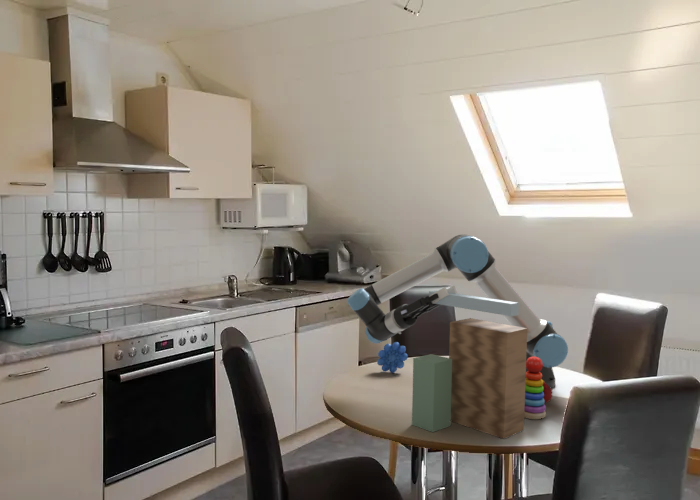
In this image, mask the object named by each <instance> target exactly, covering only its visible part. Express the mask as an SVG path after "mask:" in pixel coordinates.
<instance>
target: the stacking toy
mask: <svg viewBox="0 0 700 500" xmlns="http://www.w3.org/2000/svg"><path fill="white" fill-rule="evenodd" d="M542 367H543V363H542V361H541V359H540V358H538V357H530V358H528V359H527V361H526V368H527V370H528V371H527V372H526V380H525V408H524V419H528V418H529V419H528V420H541V418H542V419H544V418H546V416H547V412H546V410H547V406H546V405H545V404H546V403H545V400H544V398H543V397H544V393H543V390H544V388H543V386H542V385H543V380H542V379H541V378H542V373H540V371H541V369H542ZM544 403H545V404H544Z"/></svg>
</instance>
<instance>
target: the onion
mask: <svg viewBox="0 0 700 500" xmlns="http://www.w3.org/2000/svg"><path fill="white" fill-rule="evenodd" d="M542 386H543V388H544V390H543V393H544V397H543V398H544V400H545V403H544V404H547V403H549V402H550V401H551V400H552V398H553V390H552V388H550V386H549V385H547V384H546V383H545V382H544V381H543V385H542Z"/></svg>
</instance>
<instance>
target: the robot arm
mask: <svg viewBox="0 0 700 500" xmlns="http://www.w3.org/2000/svg"><path fill="white" fill-rule="evenodd" d="M455 269H458V271H459V272H460V273H461V274H462V276H463V277H464V278H465V279H466V280H467V282H469V283H470V282H471V283H475V284H476V286H478V287H479V289H480V290H481V291H482V292H483V293H484V294H485V296H486V298H490V299H497V300H504V301H511V302H517V303H519V308H518V315H515V316H506V315H502V316H503V318H504V319H505V320H506V321H507V322H508V323H509V325H511V326H517V327H523V328H527V353H526V361H527V359H528V358H530V357H538V358H540V359H541V361H542V363H543V367H542V369H541V371H540V373H542V378H541V379H542V380H543V381H544V382H545V383H546V384H547V385H549V386H550V387H552V388H553V386H554V387H555V386H556V377H555V373H554V370H553V368H556V367H558V366H559V365H561V364H562V363H564V361H565V360H566V359H567V356H568V353H569V345H568V343H567V341H566V340H565V338H564V337H563V336H561V335H560V334H558V332H556V330H555V329H554V326H553V322H552V321H549V320H546V319H543V318H539V317H538V316H537V315H536V313H535V312H534V311H533V310H532V308H530V306H529V305H528V304H527V303H526V302H525V300H524V299H523V298H522V297H521V295H520V294H519V293H518V292H517V291H516V290H515V288H514V287H513V286H512V284H511V283H510V282H509V281H508V280H507V279H506V278H505V276H504V275H503V274H502V273H501V272H500V270H499V269H498V268H497V267H496V259H495V258H494V257H493V255H492V254H491V252H490V251H489V249H488V247H487V245H486V244H485V243H484V242H483V241H482V240H481V239H480V238H479V237H476V236H473V235H468V234H458V235H455V236H453V237H452V238H450V239H448V240H447V241H445V242H444V243H442V244H440V245H439V246H437V247H434V250H433V252H432V253H429V254H427V255H426V256H424V257H422V258H420V259H418V260H416V261H414V262H413V263H411V264H409V265H406V266H404V267H403V268H401V269H399V270H397V271H396V272H393V273H392V274H389V275H388V276H385V277H384V278H382V279H380V280H378V281H376V282H374V283H371V285H369V286H367V287H365V288H363V287H362V288H361V287H360V288H359V289H357V290H355V291H354V292H353V293H352V294H350V296H349V297H348V298H347V300H346V303H347V304H348V306H349V307H350V309H351V310H352V311H353V312H354V313H355V314H356V316H357V317H358V318H359V319H360V320H361V321H362V322H363V323H364V325H365V331H364V334H365V335H366V338H367V340H368V341H370V342H371V343H373V344H381V343H383V342H385V341H387V340H388V339H390V338H392V337H393V336H395V335H397V334H399V335H401V334H402V332H403V331H405V330H406V329H409V328H410V327H413V326H414V325H415V324H416V323H417V321H418V318H419V317H421V316H422V315H424V314H425V313H426V314H427V313H429V314H430V312H432V311H433V310H435V309H436V308H437V309H438V308H439V307H440V306H441V305H440V304H434V303H436V302H438V301H439V300H441V299H443V298H445V297H447V296H448V295H449V294H448V292H449V293H456V294H458V291H457V289H456V287H455V285H453V286H450V287H449V288H447V287H446V286H444V287H441V288H440V289H438V290H436V291H437V292H435V293H433V294H432V295H430V297H429V295H427V296H426V297H421V298H419V299H417V300H416V301H415V300H414V301H413V302H412V303H410V304H408V303H404V304H401V305H399V306H397V307H396V308H394V309H392V310H390V311H389V312H388V313H384V311H383V310H382V309H381V308H380V306H379V305H380V304H383V303H384V302H387V301H388V300H390V299H392V298H394V297H395V296H398V295H400V294H402V293H403V292H405V291H408V290H410V289H412V288H414V287H415V286H418V285H419V284H421V283H423V282H425V281H427V280H429V279H430V278H431V279H432V278H433V277H434V276H436V275H439V274H440V273H442V272H445V273H448V272H450V271H453V270H455ZM431 302H432V303H431ZM527 371H528V370H527V368H526V372H527Z"/></svg>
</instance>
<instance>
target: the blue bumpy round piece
mask: <svg viewBox="0 0 700 500" xmlns="http://www.w3.org/2000/svg"><path fill="white" fill-rule="evenodd" d="M406 350H407V347H406V346H405V345H400V343H399V342H398V341H395V342H393V343H392V344H391V343H385V344H384V346H383V349H381V350H379V352H378V353H377V355H378V357H379V358H378V359H377V361H376V363H377V365H378V366H381V370H382V371H383V372H388V371H389V372H390V373H393V374H394V373H395V372H397V370H398V369H403V368H404V366H405V361H407V359H408V358H409V355H408V354H407V353H406Z"/></svg>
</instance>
